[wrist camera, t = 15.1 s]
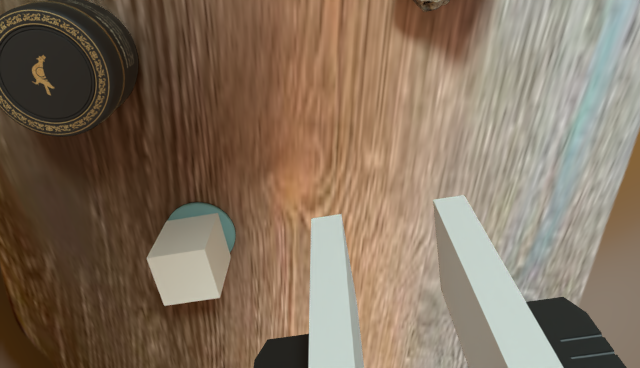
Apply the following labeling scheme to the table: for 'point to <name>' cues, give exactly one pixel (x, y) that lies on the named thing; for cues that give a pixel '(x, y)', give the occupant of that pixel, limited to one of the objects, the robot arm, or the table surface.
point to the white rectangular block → (190, 259)
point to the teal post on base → (206, 209)
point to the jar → (64, 65)
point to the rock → (430, 4)
